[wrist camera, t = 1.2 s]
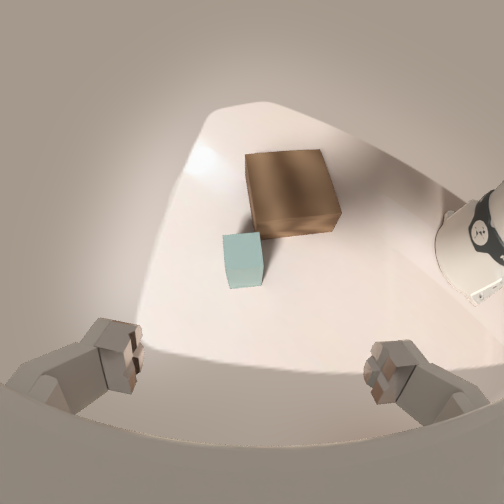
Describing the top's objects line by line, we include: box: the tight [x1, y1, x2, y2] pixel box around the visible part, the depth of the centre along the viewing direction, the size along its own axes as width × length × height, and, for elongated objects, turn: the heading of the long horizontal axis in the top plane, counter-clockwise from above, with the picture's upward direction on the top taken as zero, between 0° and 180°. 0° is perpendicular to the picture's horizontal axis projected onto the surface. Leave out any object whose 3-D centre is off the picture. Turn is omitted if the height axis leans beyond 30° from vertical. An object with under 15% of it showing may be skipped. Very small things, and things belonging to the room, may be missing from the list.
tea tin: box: [223, 232, 264, 289], centre depth 37 cm, size 4×4×8 cm
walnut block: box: [245, 149, 342, 240], centre depth 43 cm, size 12×12×6 cm
